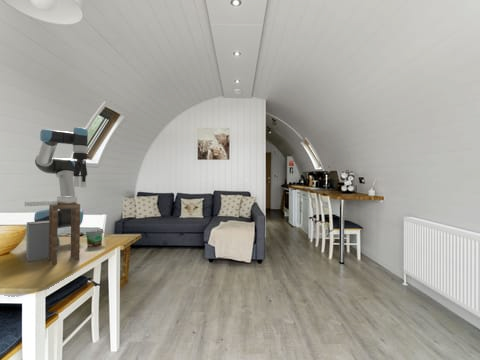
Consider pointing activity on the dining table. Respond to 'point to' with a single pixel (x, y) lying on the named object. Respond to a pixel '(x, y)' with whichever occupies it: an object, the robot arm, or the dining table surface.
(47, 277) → the dining table surface
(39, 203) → the silver saucepan
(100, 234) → the food container
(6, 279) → the dining table surface
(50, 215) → the tall stand
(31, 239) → the gray rectangular block
